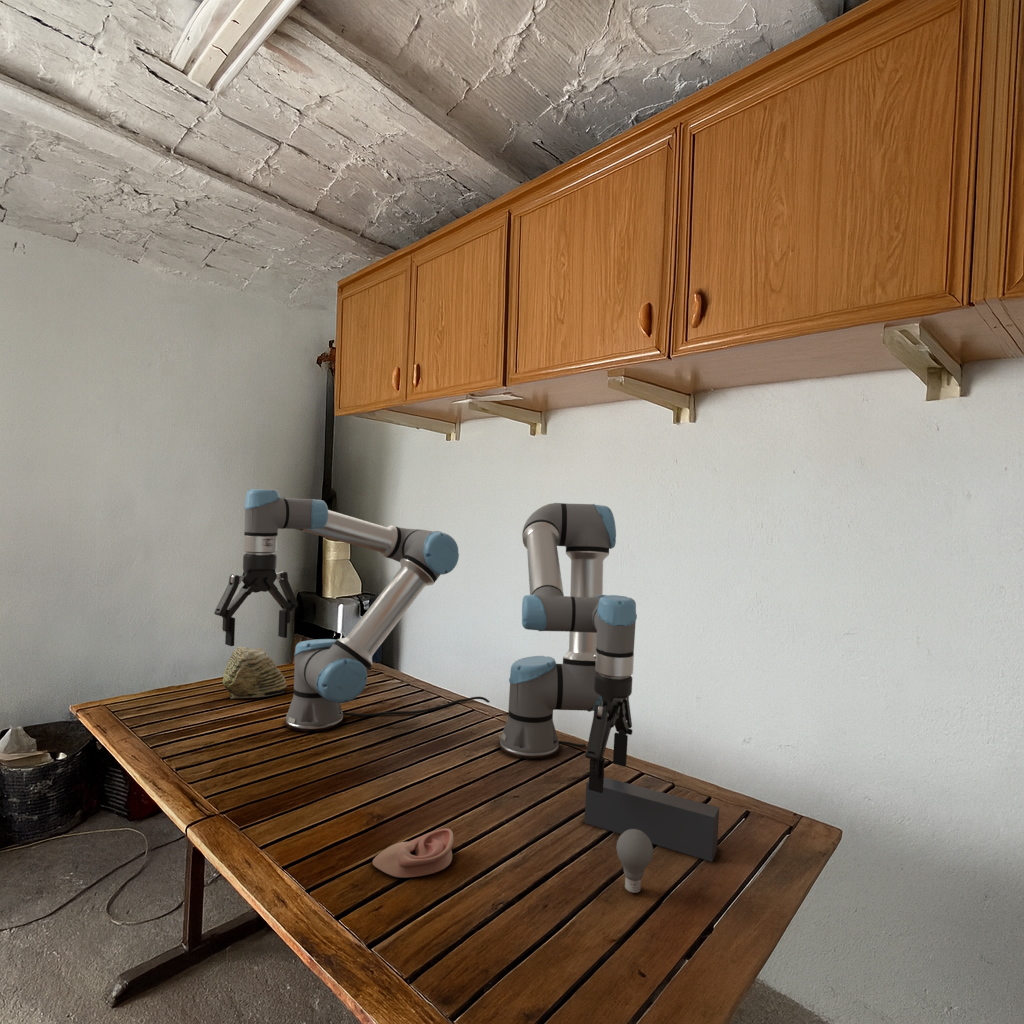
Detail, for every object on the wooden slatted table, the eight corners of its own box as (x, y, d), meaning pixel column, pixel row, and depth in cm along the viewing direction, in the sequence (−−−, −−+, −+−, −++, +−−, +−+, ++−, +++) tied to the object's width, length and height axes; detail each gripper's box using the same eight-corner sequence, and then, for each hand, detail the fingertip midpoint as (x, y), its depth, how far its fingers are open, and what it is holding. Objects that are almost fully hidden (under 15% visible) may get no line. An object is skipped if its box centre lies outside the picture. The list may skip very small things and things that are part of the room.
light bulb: (610, 879, 108) (613, 822, 108) (644, 879, 109) (647, 822, 109) (619, 902, 102) (622, 840, 102) (655, 901, 103) (658, 840, 103)
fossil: (218, 695, 195) (220, 647, 195) (278, 685, 208) (279, 640, 207) (228, 703, 189) (230, 653, 188) (289, 692, 201) (290, 645, 201)
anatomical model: (365, 849, 107) (391, 816, 119) (364, 872, 107) (390, 837, 119) (440, 861, 105) (459, 827, 116) (439, 885, 105) (459, 848, 116)
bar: (717, 850, 120) (719, 807, 119) (712, 862, 116) (714, 817, 115) (592, 813, 132) (594, 774, 132) (584, 823, 128) (586, 782, 127)
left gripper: (216, 556, 141) (213, 651, 141) (314, 552, 160) (311, 636, 160) (200, 553, 145) (197, 645, 146) (297, 550, 165) (294, 631, 165)
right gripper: (617, 656, 140) (611, 750, 141) (571, 686, 118) (565, 797, 119) (650, 662, 136) (644, 759, 137) (609, 694, 114) (603, 808, 115)
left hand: (257, 641), depth 153 cm, fingers open, 13 cm apart
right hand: (608, 777), depth 128 cm, fingers open, 13 cm apart
